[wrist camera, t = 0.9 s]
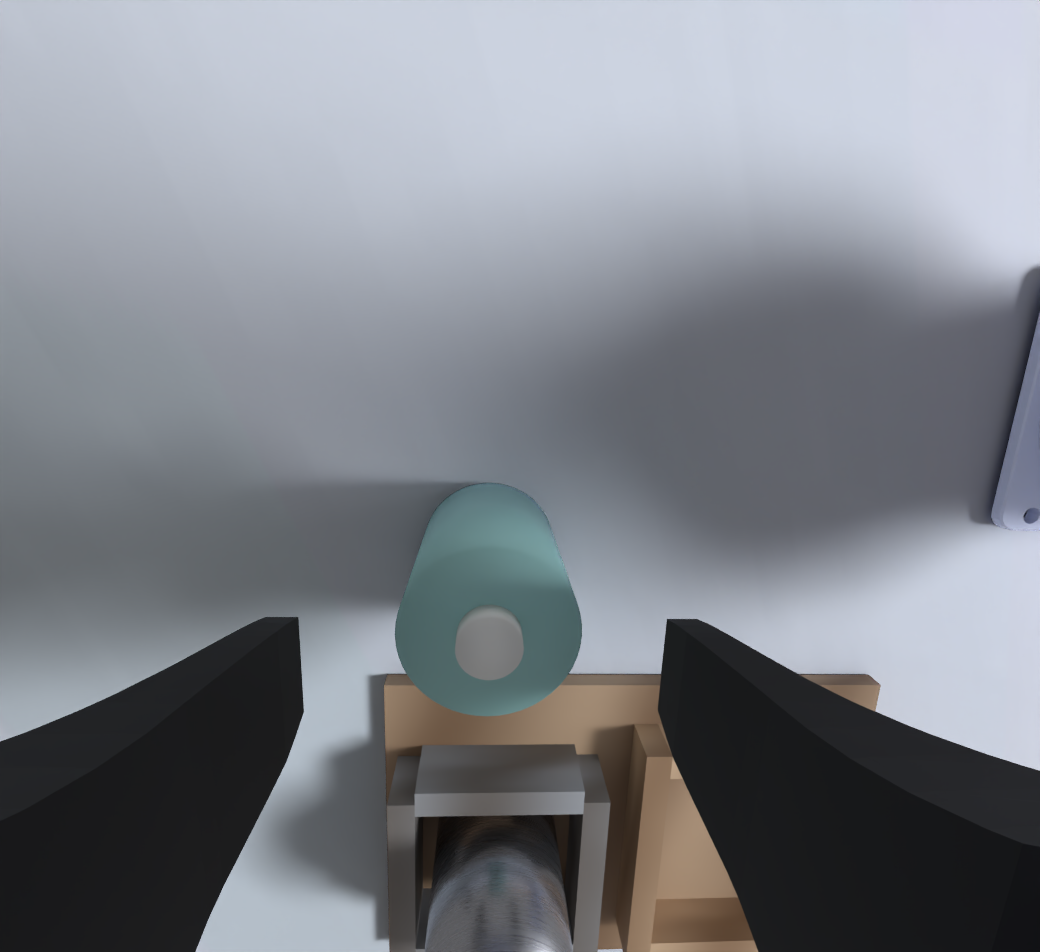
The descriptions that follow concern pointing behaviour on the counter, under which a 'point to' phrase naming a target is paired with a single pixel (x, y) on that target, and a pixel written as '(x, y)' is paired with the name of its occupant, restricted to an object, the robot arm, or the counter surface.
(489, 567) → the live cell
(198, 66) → the counter surface
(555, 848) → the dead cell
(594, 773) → the wooden battery tray
